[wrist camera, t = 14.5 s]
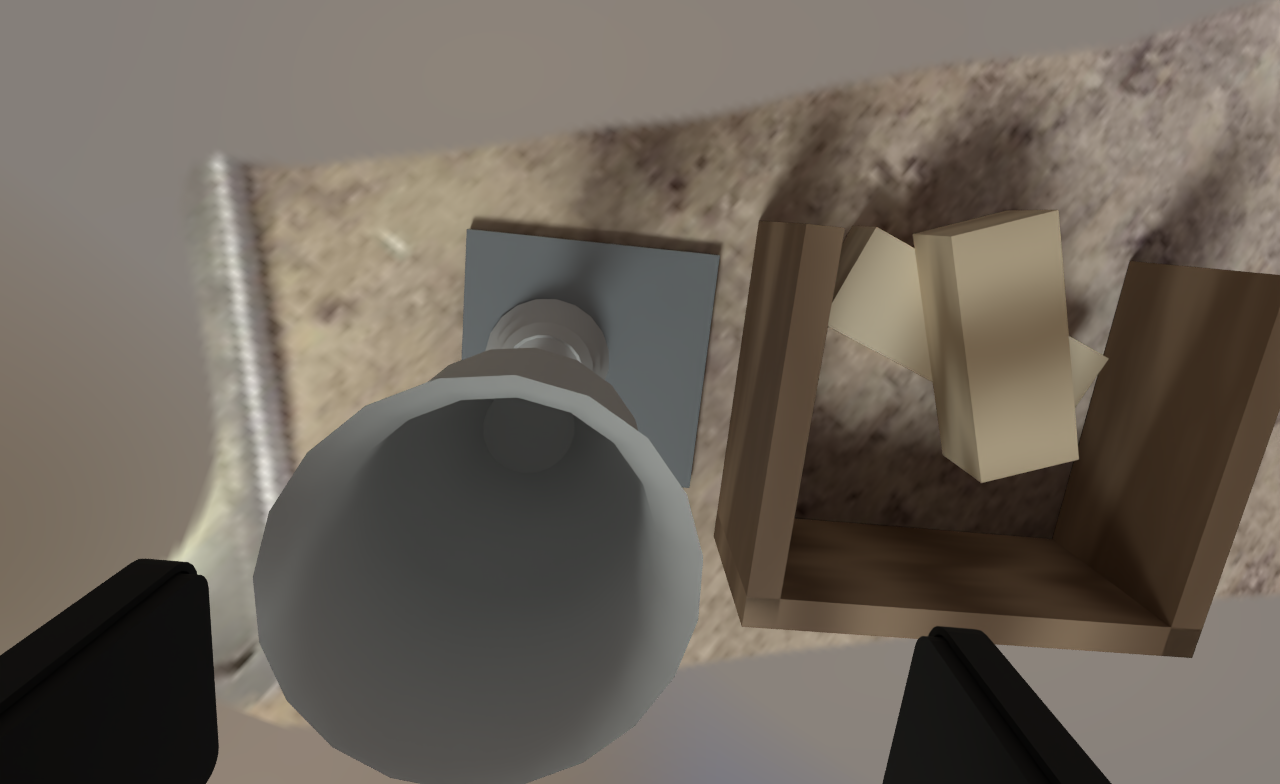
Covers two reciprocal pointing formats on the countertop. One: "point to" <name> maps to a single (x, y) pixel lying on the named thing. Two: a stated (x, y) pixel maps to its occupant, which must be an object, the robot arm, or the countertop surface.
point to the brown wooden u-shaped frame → (1094, 499)
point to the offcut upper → (999, 342)
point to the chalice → (482, 566)
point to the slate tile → (610, 319)
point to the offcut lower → (905, 306)
